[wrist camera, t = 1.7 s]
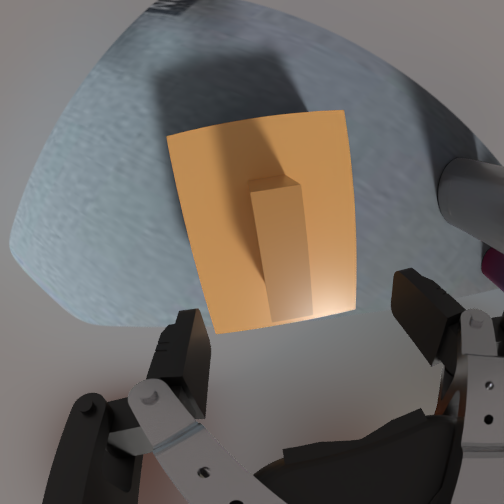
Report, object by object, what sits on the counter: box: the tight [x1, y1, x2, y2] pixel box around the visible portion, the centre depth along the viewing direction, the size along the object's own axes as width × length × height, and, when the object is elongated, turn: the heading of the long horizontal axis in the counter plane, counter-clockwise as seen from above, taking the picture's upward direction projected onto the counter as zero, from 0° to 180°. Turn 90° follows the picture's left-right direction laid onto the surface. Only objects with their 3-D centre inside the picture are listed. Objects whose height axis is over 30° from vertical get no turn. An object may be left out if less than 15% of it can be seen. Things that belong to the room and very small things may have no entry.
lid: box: [166, 110, 356, 334], centre depth 18 cm, size 12×16×7 cm
